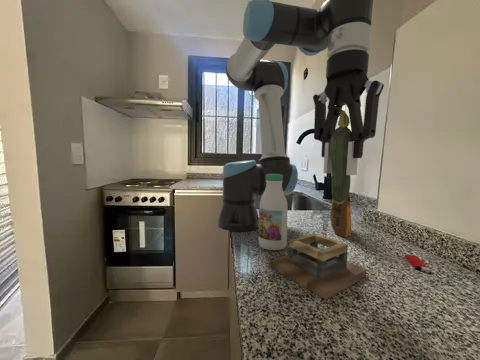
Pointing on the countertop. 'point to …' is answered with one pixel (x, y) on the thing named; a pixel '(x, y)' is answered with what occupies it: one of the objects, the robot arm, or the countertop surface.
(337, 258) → the collar stand
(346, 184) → the vegetable
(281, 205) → the milk bottle
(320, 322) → the countertop surface
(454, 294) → the countertop surface
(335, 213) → the pancake mix bag
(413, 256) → the lighter
